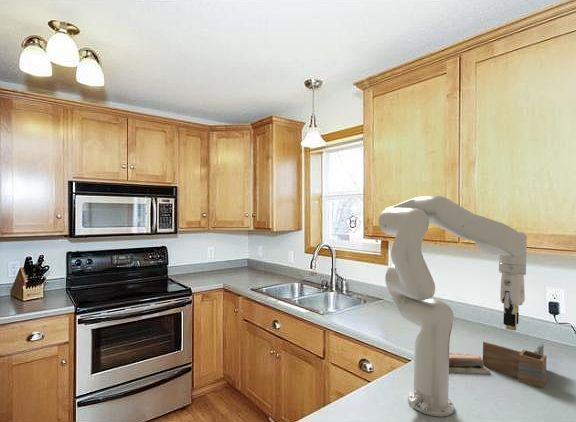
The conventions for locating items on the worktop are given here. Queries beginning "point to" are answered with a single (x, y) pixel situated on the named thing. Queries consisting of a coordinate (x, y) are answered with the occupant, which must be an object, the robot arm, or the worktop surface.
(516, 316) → the hinge pin
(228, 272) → the worktop surface
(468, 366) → the packaged product
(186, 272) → the worktop surface
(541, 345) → the hinge
